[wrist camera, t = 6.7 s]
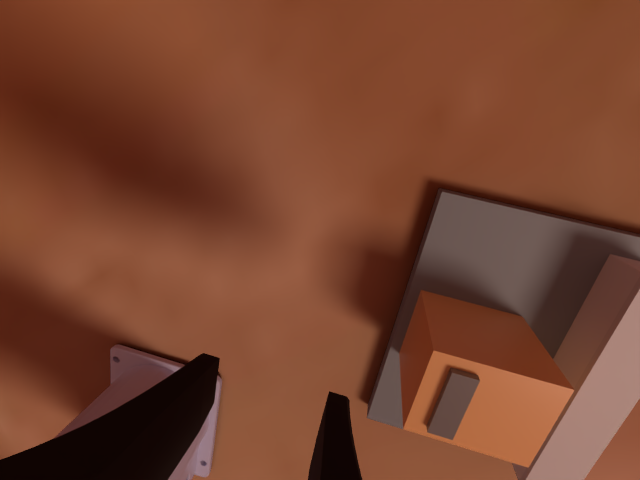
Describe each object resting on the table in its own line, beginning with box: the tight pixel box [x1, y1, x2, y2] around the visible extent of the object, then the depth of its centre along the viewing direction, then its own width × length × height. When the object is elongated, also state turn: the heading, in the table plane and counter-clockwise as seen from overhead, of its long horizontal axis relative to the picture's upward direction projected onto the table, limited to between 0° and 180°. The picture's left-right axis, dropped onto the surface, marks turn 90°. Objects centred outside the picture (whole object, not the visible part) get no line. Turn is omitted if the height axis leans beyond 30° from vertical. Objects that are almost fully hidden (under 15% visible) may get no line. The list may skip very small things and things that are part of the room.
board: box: [367, 188, 640, 480], centre depth 17 cm, size 14×11×4 cm
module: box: [399, 290, 574, 468], centre depth 15 cm, size 4×5×5 cm
